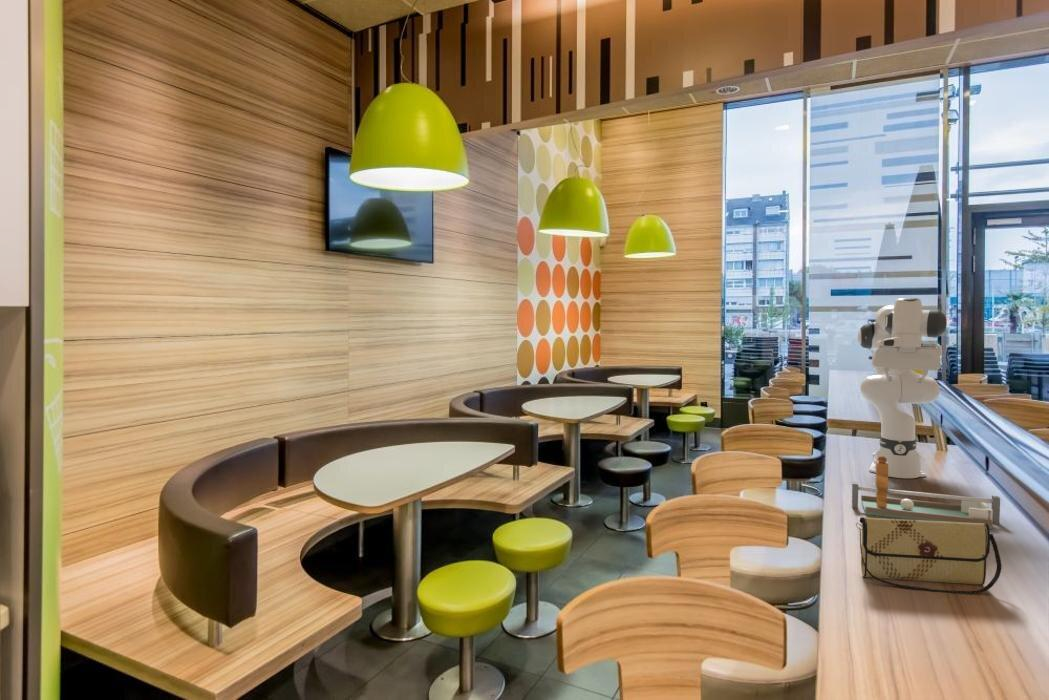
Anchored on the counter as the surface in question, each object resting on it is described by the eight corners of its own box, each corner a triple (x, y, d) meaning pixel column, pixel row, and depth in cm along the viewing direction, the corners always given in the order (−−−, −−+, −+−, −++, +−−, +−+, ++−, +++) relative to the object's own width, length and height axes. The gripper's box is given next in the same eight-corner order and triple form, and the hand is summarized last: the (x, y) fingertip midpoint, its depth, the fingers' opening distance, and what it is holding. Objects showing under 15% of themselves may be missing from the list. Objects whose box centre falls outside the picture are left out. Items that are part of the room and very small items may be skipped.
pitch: (850, 500, 195) (850, 477, 194) (991, 516, 179) (992, 490, 178) (853, 513, 183) (854, 488, 183) (1005, 530, 167) (1006, 503, 166)
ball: (899, 507, 185) (899, 496, 185) (912, 508, 183) (912, 497, 183) (901, 511, 182) (901, 499, 181) (914, 512, 180) (915, 501, 180)
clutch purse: (863, 587, 135) (864, 525, 134) (852, 574, 142) (853, 514, 141) (1008, 597, 129) (1010, 532, 128) (990, 583, 136) (992, 521, 135)
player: (875, 502, 188) (876, 454, 187) (885, 503, 187) (886, 454, 186) (876, 506, 184) (877, 456, 183) (887, 507, 183) (888, 457, 182)
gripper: (938, 345, 201) (936, 384, 201) (871, 342, 209) (869, 380, 208) (944, 343, 195) (942, 384, 195) (875, 341, 203) (873, 380, 202)
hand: (904, 382), depth 202 cm, fingers open, 8 cm apart
